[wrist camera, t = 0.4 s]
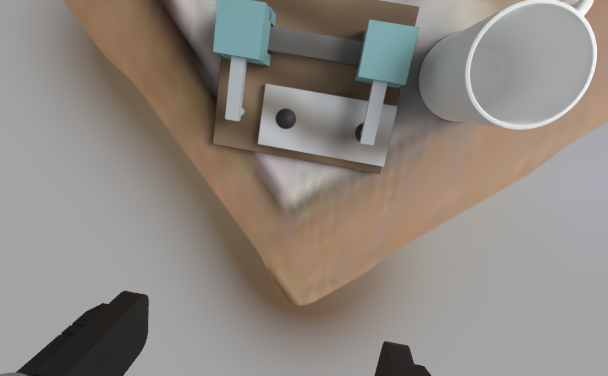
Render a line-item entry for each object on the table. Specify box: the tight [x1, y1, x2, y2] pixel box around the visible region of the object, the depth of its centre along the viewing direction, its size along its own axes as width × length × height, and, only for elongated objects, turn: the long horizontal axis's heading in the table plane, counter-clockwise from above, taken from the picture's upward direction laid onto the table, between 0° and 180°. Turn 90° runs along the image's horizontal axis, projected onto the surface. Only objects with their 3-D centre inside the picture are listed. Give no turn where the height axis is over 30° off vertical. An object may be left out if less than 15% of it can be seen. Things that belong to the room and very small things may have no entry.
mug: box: [419, 0, 597, 129], centre depth 27 cm, size 12×8×12 cm
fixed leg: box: [355, 20, 419, 146], centre depth 31 cm, size 10×4×5 cm, turn 171°
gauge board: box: [213, 0, 419, 174], centre depth 33 cm, size 16×18×3 cm
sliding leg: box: [213, 0, 276, 121], centre depth 31 cm, size 10×4×5 cm, turn 171°
